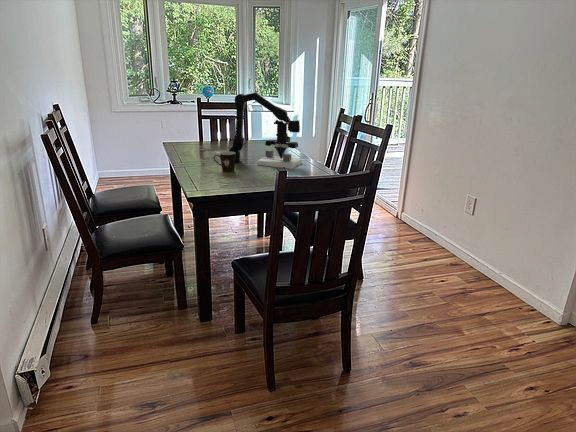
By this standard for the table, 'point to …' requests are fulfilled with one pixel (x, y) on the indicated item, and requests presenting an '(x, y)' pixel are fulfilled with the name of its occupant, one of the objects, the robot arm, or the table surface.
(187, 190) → the table surface
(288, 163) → the console
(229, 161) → the coffee mug
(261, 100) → the robot arm
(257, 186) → the table surface
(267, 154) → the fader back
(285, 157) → the fader front
